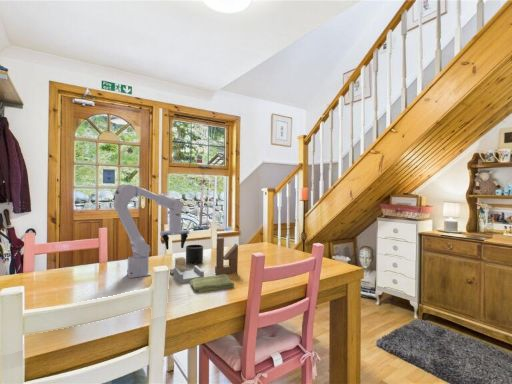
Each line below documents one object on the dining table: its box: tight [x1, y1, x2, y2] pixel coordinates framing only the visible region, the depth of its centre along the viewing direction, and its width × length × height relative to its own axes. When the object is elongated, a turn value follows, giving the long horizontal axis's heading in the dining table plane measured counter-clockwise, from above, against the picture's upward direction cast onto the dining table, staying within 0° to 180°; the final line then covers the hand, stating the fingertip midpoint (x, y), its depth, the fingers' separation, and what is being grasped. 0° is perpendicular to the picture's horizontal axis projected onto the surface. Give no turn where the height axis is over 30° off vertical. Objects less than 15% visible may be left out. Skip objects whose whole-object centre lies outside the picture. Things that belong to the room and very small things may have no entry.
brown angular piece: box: [214, 236, 239, 275], centre depth 142 cm, size 4×11×18 cm, turn 115°
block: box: [174, 257, 186, 272], centre depth 142 cm, size 4×4×6 cm
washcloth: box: [189, 274, 235, 293], centre depth 124 cm, size 13×18×3 cm
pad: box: [169, 266, 192, 276], centre depth 143 cm, size 10×7×1 cm
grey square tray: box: [173, 264, 205, 284], centre depth 133 cm, size 11×11×4 cm
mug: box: [185, 244, 204, 265], centre depth 160 cm, size 9×12×9 cm
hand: (174, 248), depth 148 cm, fingers open, 7 cm apart
